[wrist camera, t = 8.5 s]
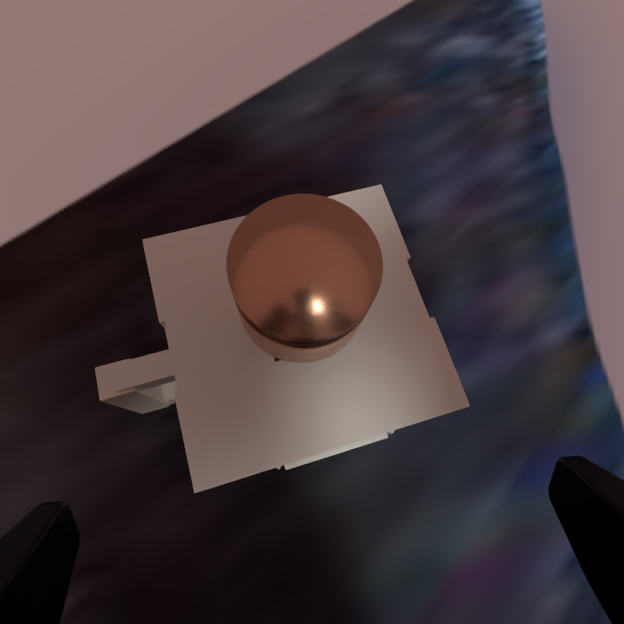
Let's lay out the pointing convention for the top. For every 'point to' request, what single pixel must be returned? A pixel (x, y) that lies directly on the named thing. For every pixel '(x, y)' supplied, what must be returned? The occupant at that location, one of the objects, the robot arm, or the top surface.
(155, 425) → the top surface
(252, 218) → the plunger
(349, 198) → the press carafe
